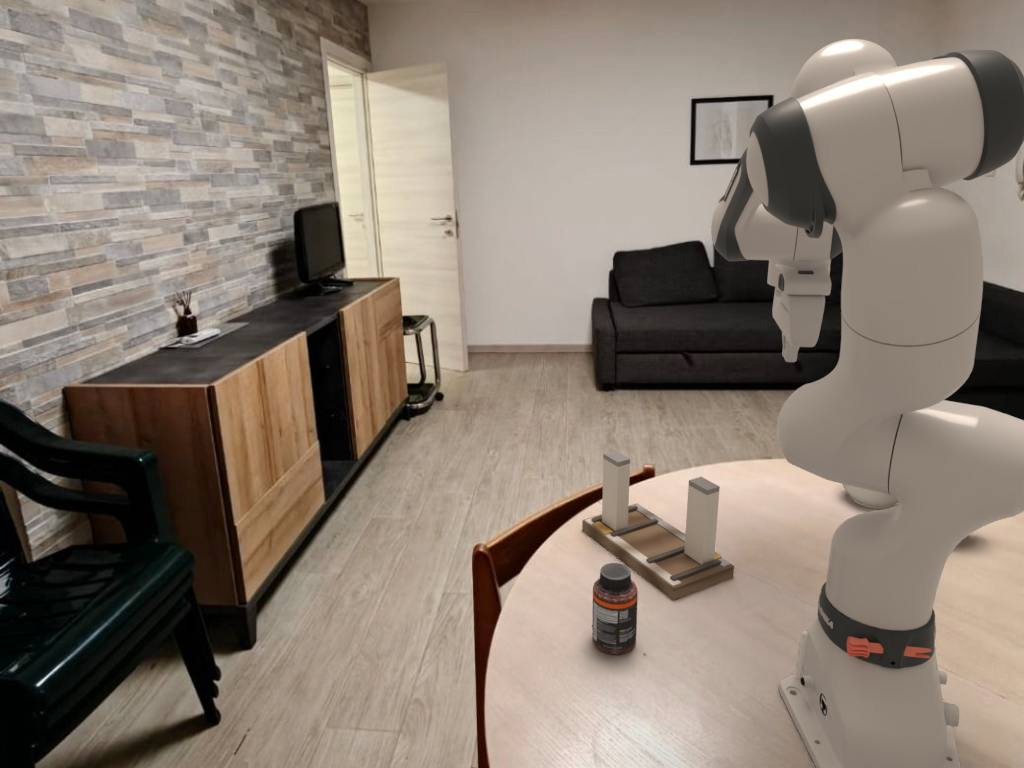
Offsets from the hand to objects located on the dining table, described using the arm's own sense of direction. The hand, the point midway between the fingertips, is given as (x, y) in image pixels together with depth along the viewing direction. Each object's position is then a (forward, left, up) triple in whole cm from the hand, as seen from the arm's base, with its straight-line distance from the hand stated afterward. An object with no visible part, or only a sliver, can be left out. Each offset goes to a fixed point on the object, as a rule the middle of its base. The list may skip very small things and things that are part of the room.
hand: (789, 359), depth 116 cm
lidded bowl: (+15, -20, -31) cm, 40 cm away
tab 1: (-6, +27, -29) cm, 40 cm away
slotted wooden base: (-10, +20, -31) cm, 38 cm away
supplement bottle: (-34, +25, -31) cm, 53 cm away
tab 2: (-14, +13, -29) cm, 35 cm away
